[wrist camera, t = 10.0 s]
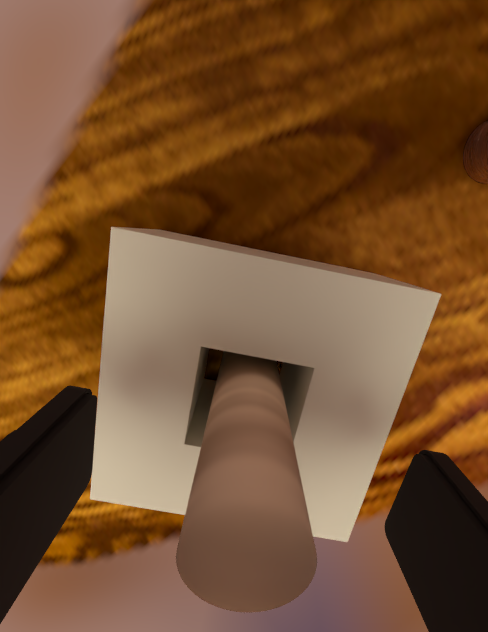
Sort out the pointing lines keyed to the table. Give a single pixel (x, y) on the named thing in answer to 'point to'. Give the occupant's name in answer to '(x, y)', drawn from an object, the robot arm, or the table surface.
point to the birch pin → (247, 497)
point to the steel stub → (477, 154)
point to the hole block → (254, 340)
